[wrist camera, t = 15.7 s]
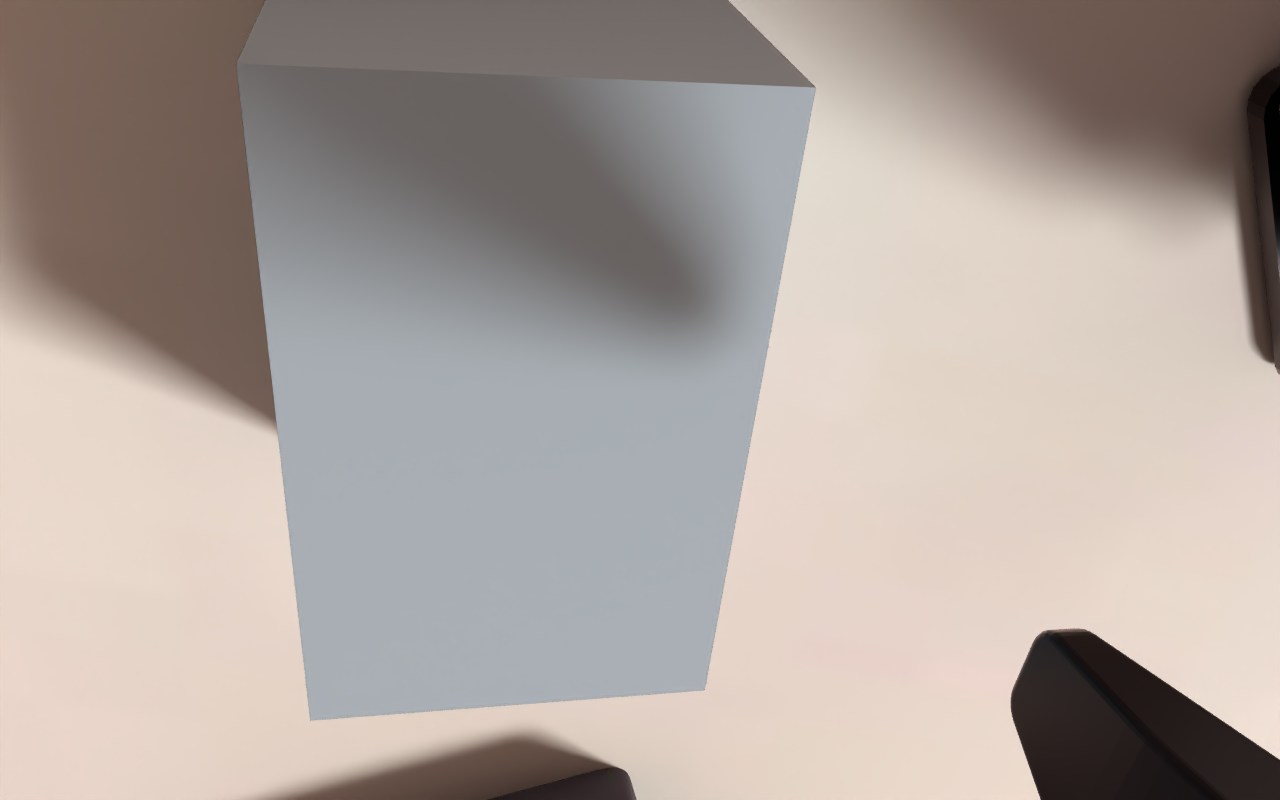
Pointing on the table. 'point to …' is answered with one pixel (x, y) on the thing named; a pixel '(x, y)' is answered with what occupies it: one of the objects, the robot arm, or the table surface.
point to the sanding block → (514, 333)
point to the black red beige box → (581, 788)
